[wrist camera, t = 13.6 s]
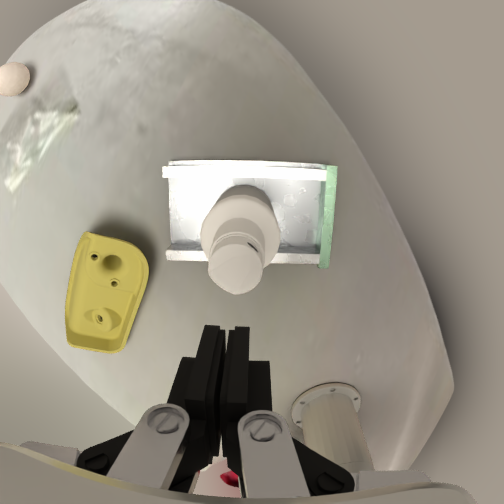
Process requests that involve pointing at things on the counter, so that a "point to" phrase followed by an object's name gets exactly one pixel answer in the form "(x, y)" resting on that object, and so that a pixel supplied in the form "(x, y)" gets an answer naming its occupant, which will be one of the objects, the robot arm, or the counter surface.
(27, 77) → the egg
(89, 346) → the plastic component
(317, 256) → the rail cradle
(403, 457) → the counter surface
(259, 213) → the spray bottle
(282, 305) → the counter surface
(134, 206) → the counter surface
